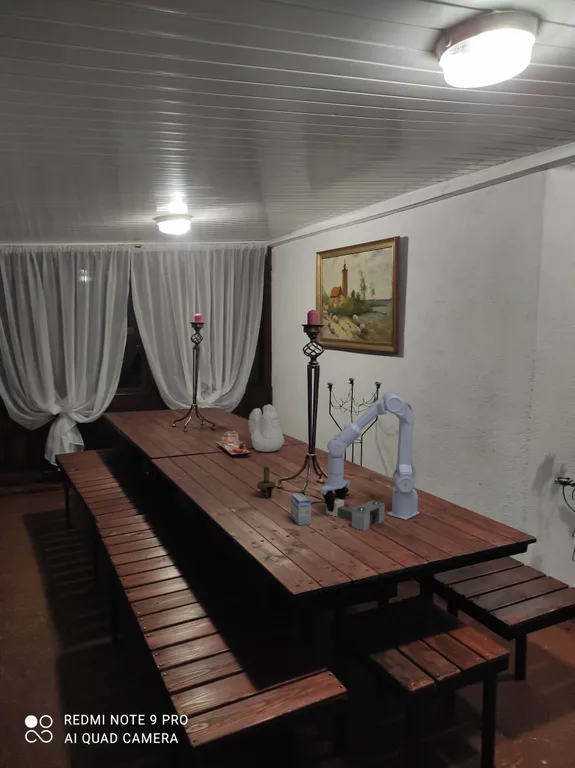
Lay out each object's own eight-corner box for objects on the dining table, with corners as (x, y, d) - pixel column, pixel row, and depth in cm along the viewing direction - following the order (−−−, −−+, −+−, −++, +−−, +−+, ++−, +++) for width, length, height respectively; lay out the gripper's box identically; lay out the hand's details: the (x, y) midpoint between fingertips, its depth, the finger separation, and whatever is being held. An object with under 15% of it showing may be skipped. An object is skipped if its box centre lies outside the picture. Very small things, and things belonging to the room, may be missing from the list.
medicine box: (290, 518, 197) (290, 494, 196) (302, 516, 198) (302, 492, 197) (298, 526, 190) (298, 501, 188) (310, 524, 191) (311, 499, 190)
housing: (372, 517, 198) (372, 499, 197) (384, 521, 194) (384, 502, 193) (351, 527, 189) (352, 507, 188) (363, 531, 186) (364, 511, 185)
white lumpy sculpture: (288, 453, 288) (289, 405, 285) (260, 456, 281) (260, 407, 278) (269, 442, 310) (269, 398, 307) (242, 445, 304) (242, 400, 301)
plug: (334, 510, 204) (334, 497, 204) (373, 522, 193) (373, 508, 192) (326, 513, 201) (326, 500, 200) (365, 526, 190) (366, 512, 189)
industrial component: (278, 498, 217) (278, 468, 216) (261, 500, 215) (261, 470, 213) (270, 491, 226) (270, 462, 224) (253, 493, 223) (253, 464, 222)
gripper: (339, 466, 207) (338, 501, 209) (313, 474, 197) (313, 511, 199) (354, 469, 203) (353, 506, 204) (329, 478, 192) (328, 516, 194)
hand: (334, 509), depth 201 cm, fingers closed on plug, 4 cm apart
